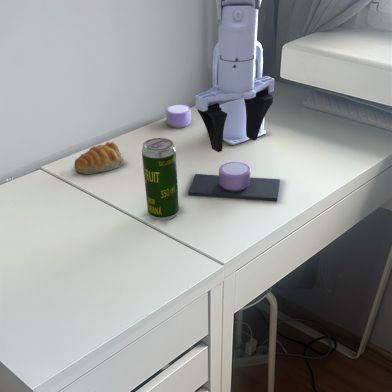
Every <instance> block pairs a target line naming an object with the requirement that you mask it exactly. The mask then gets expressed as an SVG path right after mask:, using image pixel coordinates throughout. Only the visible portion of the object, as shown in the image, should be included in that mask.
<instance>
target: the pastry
mask: <svg viewBox="0 0 392 392" xmlns="http://www.w3.org/2000/svg"><path fill="white" fill-rule="evenodd" d="M124 161H125V159H124V157H123V154H122V152H121V151H120V149H119V146H118V145H117V144H116V143H114V142H113V141H112V142H111V141H110V142H109V141H106V142H105V144H98V145H95V146H92V147H90V148H89V150H87V151H86V152H85V153H82V154H80V156H79V157H77V158H76V159H75V161H74V170H75V171H76V172H79V173H82V174H86V175H93V174H100V173H103V172H109V171H111V170H116V169H119V168H120V167H122V166H123V164H124Z"/></svg>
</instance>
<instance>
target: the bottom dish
mask: <svg viewBox="0 0 392 392" xmlns="http://www.w3.org/2000/svg"><path fill="white" fill-rule="evenodd" d="M165 122H166V123H167V124H168V126H169V127H171V128H175V129H180V128H185V127H188V126H189V124H190V123H191V122H192V108H191V107H190V106H189V105H186V104H172V105H169V106H167V107H166V108H165Z"/></svg>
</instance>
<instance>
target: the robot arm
mask: <svg viewBox="0 0 392 392" xmlns="http://www.w3.org/2000/svg"><path fill="white" fill-rule="evenodd" d="M257 2H258V6H257V4H256V0H215V4H216V13H217V14H216V15H217V24H218V42H217V43H216V44H215V45H214V48H213V55H212V56H213V57H212V69H211V70H212V74H211V75H212V77H211V79H212V80H211V81H212V82H211V83H212V87H211V88H209V89H208V90H206V91H204V92H201V93H199V94H196V95H195V96H194V97H195V109H196V110H197V112H198V114H199V116H200V118H201V120H202V122H203V124H204V126H205V129H206V132H207V135H208V137H209V142H210V147H211V149H212V150H213V151H215V152H217V153H221V152H223V147H224V142H226V143H228V144H229V145H232V146H234V145H237V144H240V143H243V142H246V141H249V140H252V141H257V139H258V137H261V136H264V135H266V134H267V131H266V130H265V117H266V114H267V113H268V111H269V109H270V108H271V106H272V105H273V104H274V95H272V94H271V93H273V92H274V89H275V78H273V77H270V76H268V75H265V76H263V67H264V66H263V65H264V57H263V54H264V53H263V51H264V50H263V47H262V44H261V43H260V42H259V41H258V40H257V37H258V19H259V8H260V7H261V3H262V0H257Z"/></svg>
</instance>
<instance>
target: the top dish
mask: <svg viewBox="0 0 392 392" xmlns="http://www.w3.org/2000/svg"><path fill="white" fill-rule="evenodd" d="M218 175H219V184H220V186H221V187H222V188H223V189H225V190H227V191H231V192H238V191H242V190H244V189H245V188H246V187H247V186H249V184H250V177H251V167H250V165H248V164H246V163H244V162H241V161H230V162H225V163H223V164H221V165H220V166H219V167H218Z"/></svg>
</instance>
